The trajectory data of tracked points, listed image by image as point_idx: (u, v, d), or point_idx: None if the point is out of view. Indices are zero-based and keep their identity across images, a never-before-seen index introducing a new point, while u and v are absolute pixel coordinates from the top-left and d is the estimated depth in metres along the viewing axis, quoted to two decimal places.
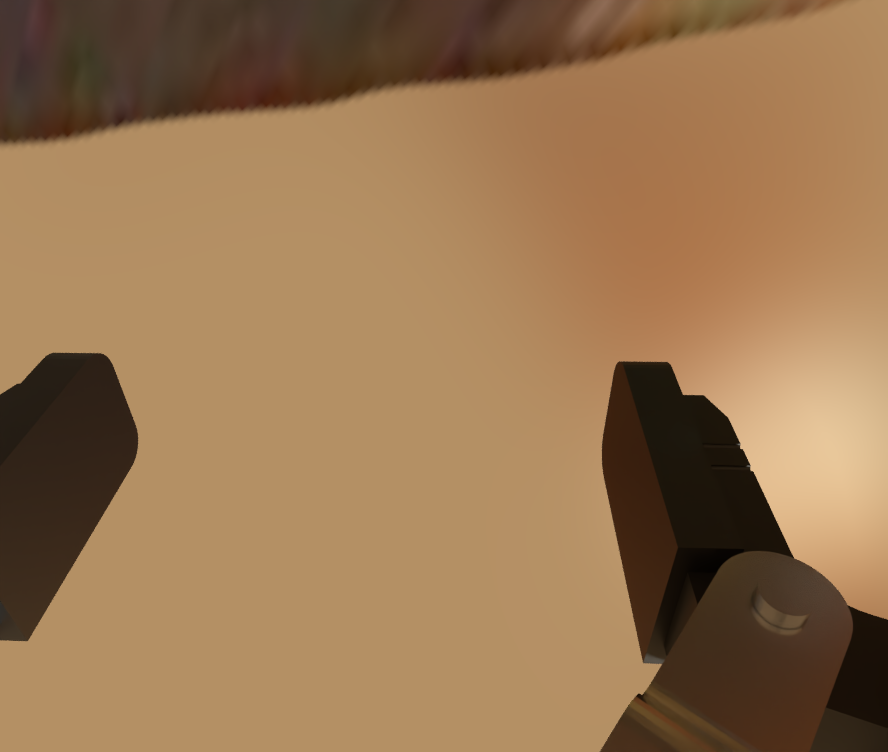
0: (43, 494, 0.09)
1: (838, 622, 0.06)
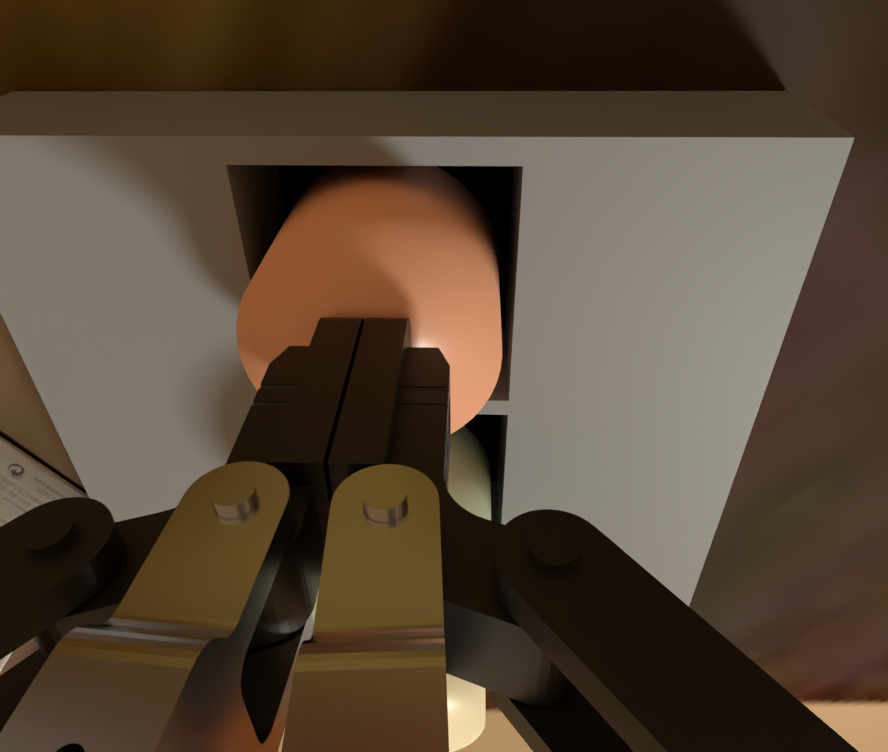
0: None
1: (423, 516, 0.07)
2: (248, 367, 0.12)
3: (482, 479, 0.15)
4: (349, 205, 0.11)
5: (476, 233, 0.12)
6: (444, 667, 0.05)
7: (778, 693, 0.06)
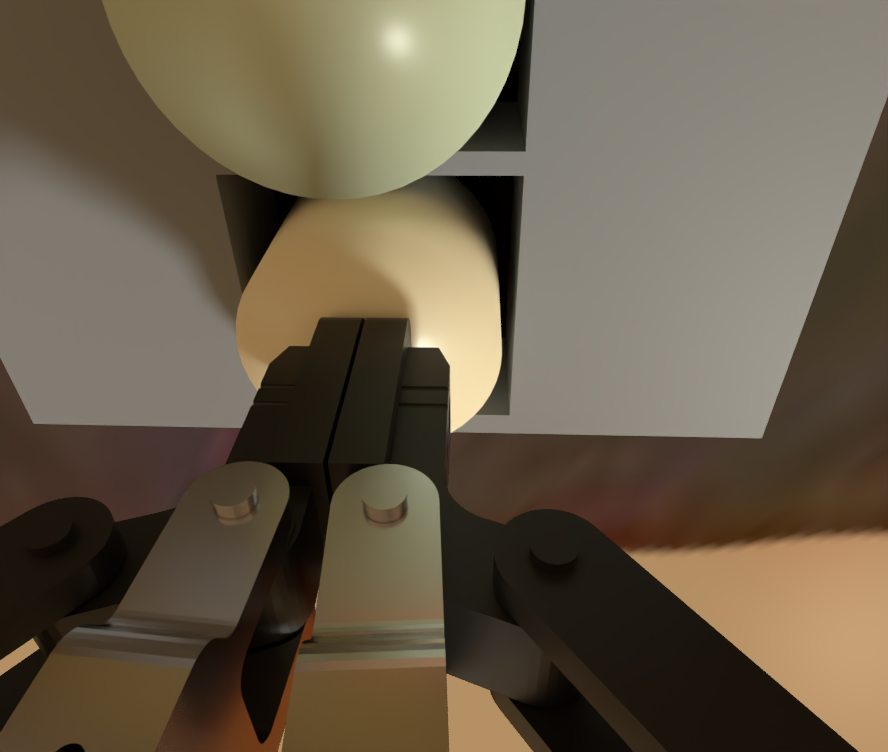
0: None
1: (424, 516, 0.07)
2: None
3: None
4: None
5: None
6: (444, 667, 0.05)
7: (778, 693, 0.06)
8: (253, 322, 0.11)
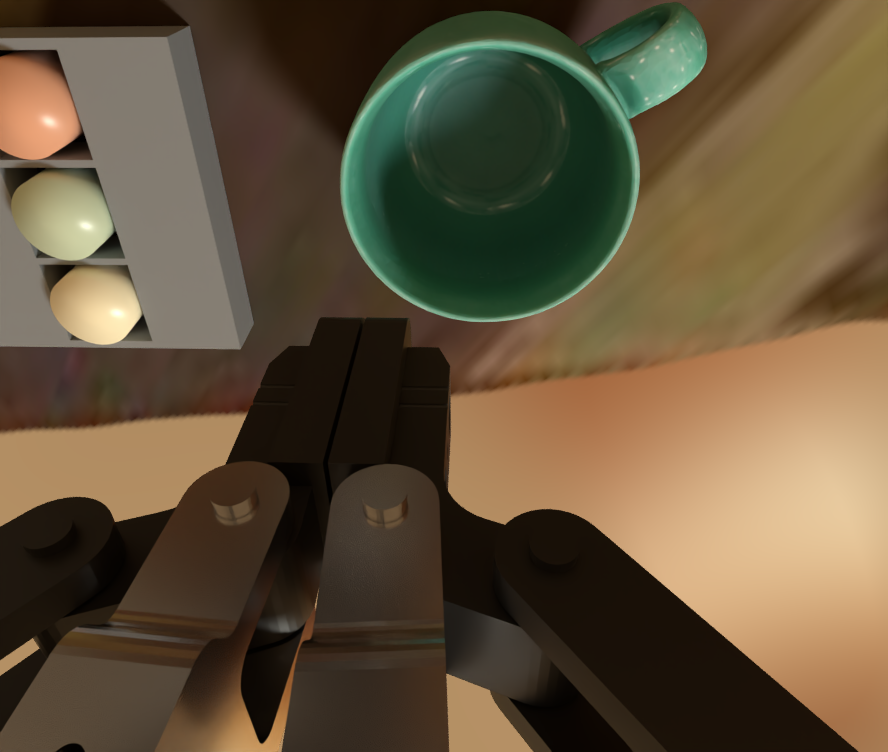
0: None
1: (423, 516, 0.07)
2: None
3: None
4: (2, 56, 0.32)
5: (60, 72, 0.33)
6: (444, 667, 0.05)
7: (778, 693, 0.06)
8: (55, 302, 0.39)
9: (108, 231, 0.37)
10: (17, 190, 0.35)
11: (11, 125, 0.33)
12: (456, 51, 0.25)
